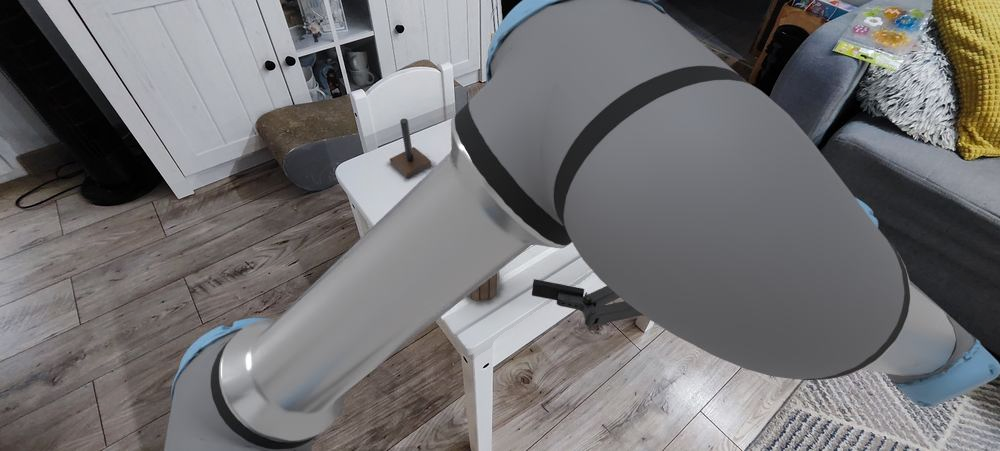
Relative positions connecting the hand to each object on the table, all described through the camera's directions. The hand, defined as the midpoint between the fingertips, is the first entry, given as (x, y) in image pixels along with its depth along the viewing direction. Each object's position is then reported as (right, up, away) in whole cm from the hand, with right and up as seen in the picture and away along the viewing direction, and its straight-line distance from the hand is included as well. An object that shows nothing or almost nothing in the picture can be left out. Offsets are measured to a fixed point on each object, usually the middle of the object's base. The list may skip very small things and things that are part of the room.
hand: (540, 248), depth 64 cm
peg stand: (-24, +16, +30) cm, 42 cm away
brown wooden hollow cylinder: (-9, -7, +10) cm, 15 cm away
